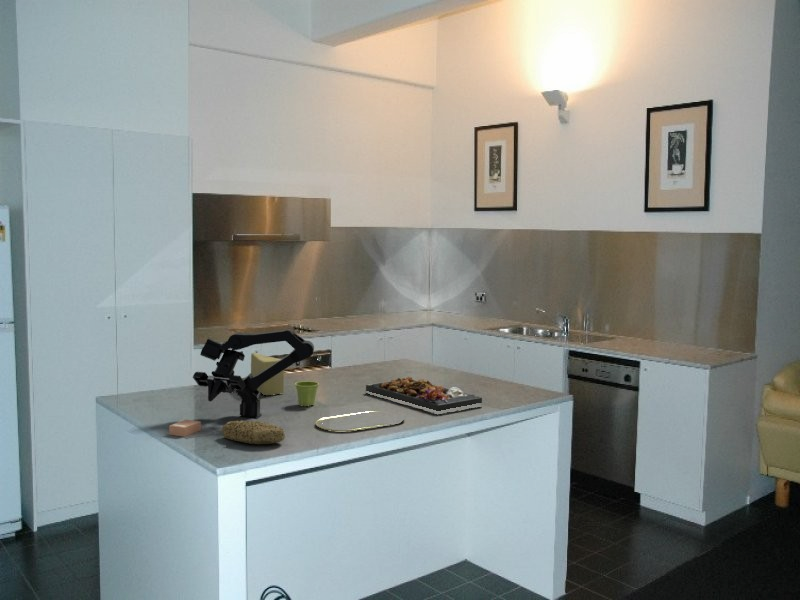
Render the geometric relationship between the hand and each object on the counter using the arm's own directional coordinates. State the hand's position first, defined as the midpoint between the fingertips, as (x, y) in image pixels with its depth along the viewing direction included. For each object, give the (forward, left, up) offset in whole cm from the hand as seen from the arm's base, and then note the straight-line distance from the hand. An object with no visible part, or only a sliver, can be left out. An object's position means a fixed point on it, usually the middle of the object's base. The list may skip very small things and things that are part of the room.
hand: (209, 400), depth 258 cm
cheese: (+2, -59, -9) cm, 60 cm away
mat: (+1, +10, -8) cm, 13 cm away
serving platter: (-51, -18, -9) cm, 54 cm away
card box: (+2, +9, -6) cm, 11 cm away
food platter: (-67, -62, -9) cm, 91 cm away
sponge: (-23, +16, -9) cm, 29 cm away
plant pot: (-24, -39, -9) cm, 46 cm away
